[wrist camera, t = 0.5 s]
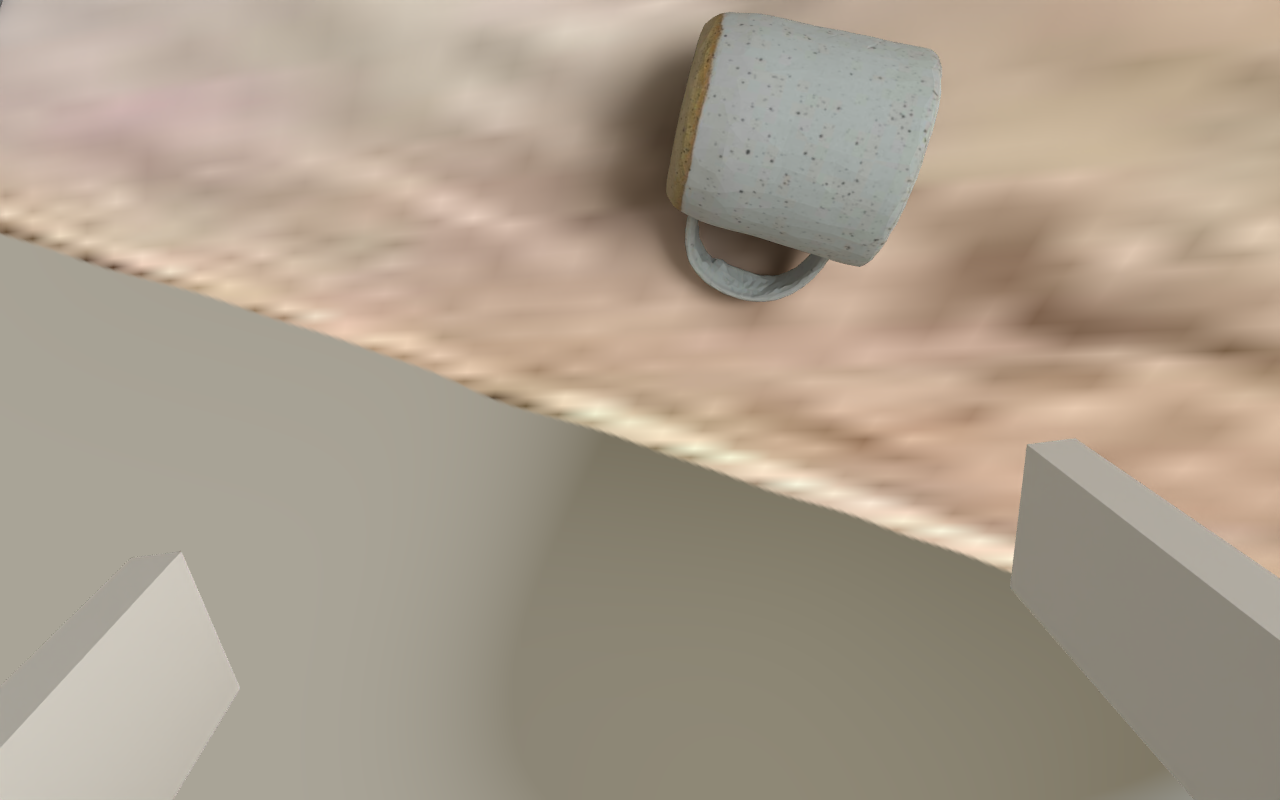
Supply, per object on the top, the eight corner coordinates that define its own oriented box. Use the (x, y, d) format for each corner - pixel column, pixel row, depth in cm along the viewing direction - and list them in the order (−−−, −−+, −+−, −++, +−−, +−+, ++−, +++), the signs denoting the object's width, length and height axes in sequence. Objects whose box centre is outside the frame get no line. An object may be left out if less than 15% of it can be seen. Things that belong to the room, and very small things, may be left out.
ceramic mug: (704, 8, 28) (703, -10, 21) (909, 53, 28) (977, 49, 21) (650, 270, 32) (635, 326, 25) (826, 307, 32) (859, 374, 25)
